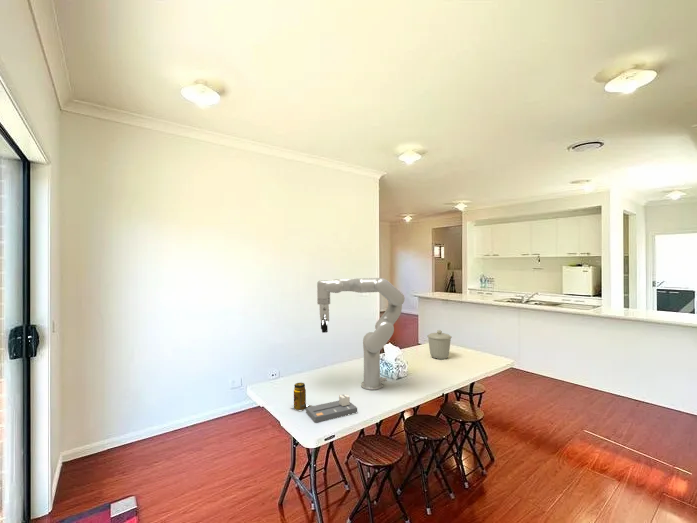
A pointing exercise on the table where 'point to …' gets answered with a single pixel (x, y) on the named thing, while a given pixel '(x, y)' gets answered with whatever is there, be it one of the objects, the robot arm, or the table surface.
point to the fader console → (329, 411)
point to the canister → (439, 344)
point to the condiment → (300, 396)
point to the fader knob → (344, 400)
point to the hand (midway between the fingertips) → (324, 330)
